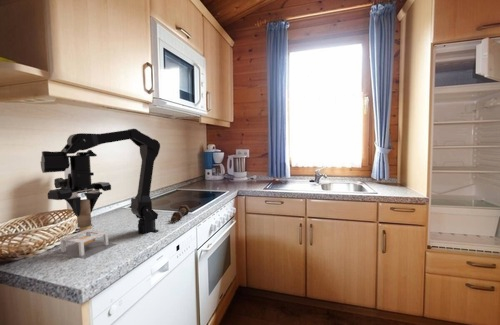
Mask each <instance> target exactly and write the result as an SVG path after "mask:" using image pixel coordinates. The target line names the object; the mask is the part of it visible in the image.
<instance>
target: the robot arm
mask: <svg viewBox="0 0 500 325" xmlns="http://www.w3.org/2000/svg"><path fill="white" fill-rule="evenodd" d="M126 140H130V141H131V142H132V143H134V144H135V145H136V146H137V147H139V155H140V158H141V164H140V170H139V171H140V172H139V180H138V186H137V193H136V196H135V197H131V198H130V205H129V208H130V210H131V213H132V214H133V215H135V217H136V218H137V219H138V221H137V222H138V224H137V234H141V235H146V234H150V233H152V234H156V233H158V232H159V229H156V220H157V219H158V217H159V214H158V212H156V211H154V210H153V202H152V199H151V195H150V194H151V188H152V182H153V180H152V179H153V174H154V172H153V171H154V164H155V161H156V159H157V157H158V155H159V153H160V149H161V144H160V142H159V141H158V140H157V139H154V138H151V136H149V135H146V134H144V133H142V132H141V131H140V130H138V129H137V128H130V129H125V130H118V131H111V132H105V133H104V132H103V133H84V132H83V133H73V134H71V135H69V136H68V137H67V140H66V144H65V146H63V148H62V149H61V150H60V151H48V150H47V151H46V150H43V151H41V157H40V158H41V159H40V160H41V161H40V169H41V172H42V174H44V173H45V174H47V173H58V172H59V173H61V172H66V170H67V169H69V168H70V172H69V173H68V174H67V178H63V177H57V178H55V179H54V184H53V185H54V188H55V189H49V191H48V193H46V194H47V199H48V200H52V201H53V200H56V201H61V200H64V201H66V202H67V204H69V206H70V208H71V210H72V212H73V213H74V215H75V216H76V217H77V216H79V214H80V201H81V200H82V198H81V197H80V196H78V194H84V195H85V199H90V210H91V213H92V212H93V210H94V207H95V205H96V203H97V201H98V200H99V198H100V196H101V195H103V192H107V191H111V190H112V185H111V183H110V182H106V181H104V182H103V181H100V182H99V181H98V182H92V176H94V172H92V170H91V157H98V156H97V154H96V153H95V152H94V151H93V150H91V149H92V148H95V147H97V146H100V145H103V144H108V143H114V142H121V141H126ZM86 150H87V151H86ZM69 154H71V155H69ZM74 154H75V155H74ZM101 190H102V191H103V192H101Z"/></svg>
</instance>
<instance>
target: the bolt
mask: <svg viewBox="0 0 500 325" xmlns="http://www.w3.org/2000/svg"><path fill="white" fill-rule="evenodd" d="M190 211H191V210H190V208H189V206H188V205H187V204H184V205H183V204H182V205H180V207H179V209H178V210H177V211H174V212H173V213H172V215H171V217H170V221H171V222H172V223H176V222H178V221H177V220H180V221H182V220H181V219H182V218H183V216H185V215H184V214H187V215H188V214H189V213H190Z"/></svg>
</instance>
